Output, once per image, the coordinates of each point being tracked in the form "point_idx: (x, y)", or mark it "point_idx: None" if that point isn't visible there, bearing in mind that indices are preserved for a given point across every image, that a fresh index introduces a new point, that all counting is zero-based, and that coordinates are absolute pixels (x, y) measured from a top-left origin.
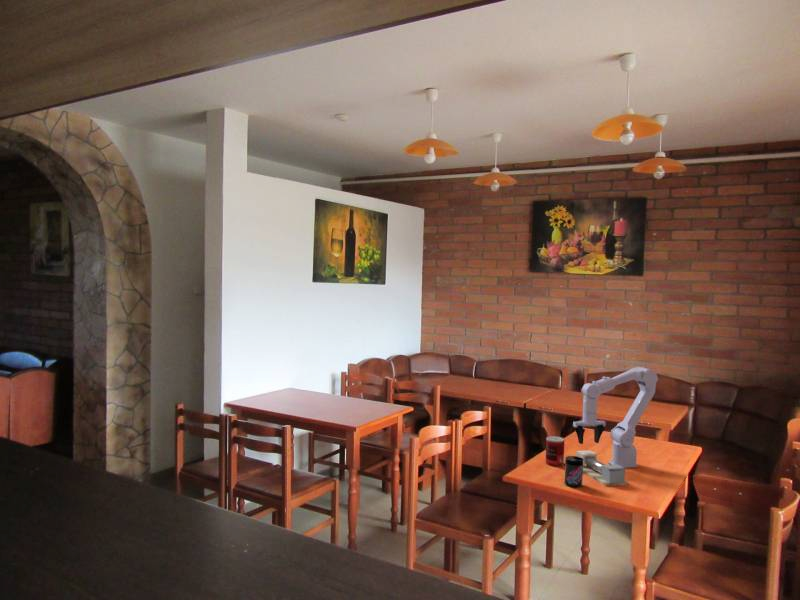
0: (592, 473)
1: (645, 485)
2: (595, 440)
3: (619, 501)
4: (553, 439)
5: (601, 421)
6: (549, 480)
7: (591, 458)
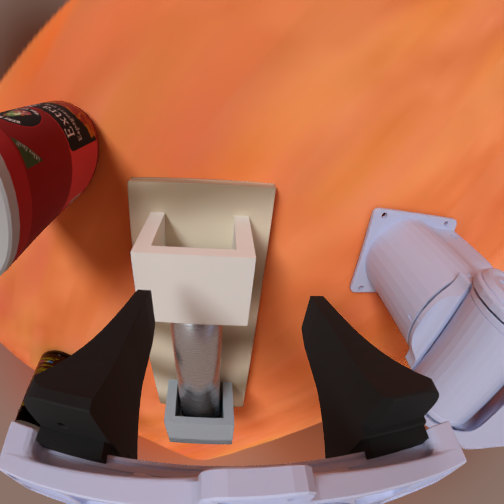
0: (161, 341)
1: (289, 405)
2: (310, 320)
3: (147, 437)
4: None
5: (419, 485)
6: (6, 321)
7: (187, 333)
